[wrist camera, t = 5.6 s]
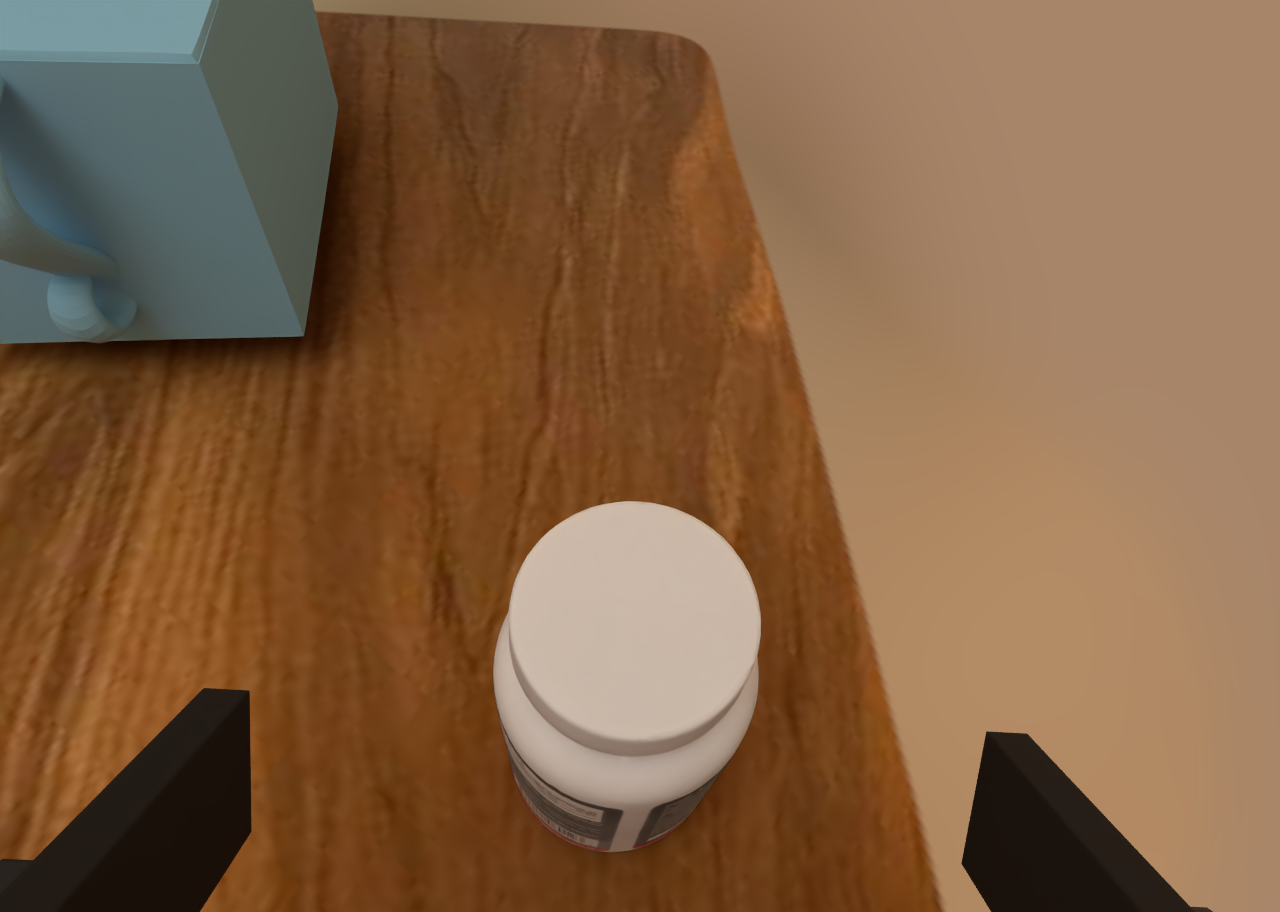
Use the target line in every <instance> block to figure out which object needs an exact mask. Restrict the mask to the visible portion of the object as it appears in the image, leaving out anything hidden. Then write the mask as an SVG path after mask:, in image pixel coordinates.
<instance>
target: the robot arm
mask: <svg viewBox="0 0 1280 912" xmlns="http://www.w3.org/2000/svg"><path fill="white" fill-rule="evenodd" d="M250 833H251V766H250V694H249V691H246V690H228V689H210V688H204V689H203V690H202V691H201V692H200V693H199V694H198V695H197V696H196V697H195V698H194V699H193V700H192V701H191V702H190V703H189V704H188V705H187V706H186V707H185V708H184V709H183V710H182V711H181V712H180V713H179V714H178V715H177V716H176V717H175V718H174V719H173V720H172V721H171V722H170V723H169V724H168V725H167V726H166V727H165V728H164V729H163V730H162V731H161V732H160V733H159V734H158V735H157V736H156V737H155V738H154V739H153V740H152V741H151V742H150V743H149V744H148V745H147V746H146V747H145V748H144V749H143V750H142V751H141V752H140V753H139V754H138V755H137V756H136V757H135V758H134V759H133V760H132V761H131V762H130V763H129V764H128V765H127V766H126V767H125V768H124V769H123V770H122V771H121V772H120V773H119V774H118V775H117V776H116V777H115V778H114V779H113V780H112V781H111V782H110V783H109V784H108V785H107V786H106V787H105V788H104V789H103V790H102V792H101V793H100V794H99V795H98V796H97V797H96V798H95V799H94V800H93V801H92V802H91V803H90V804H89V805H88V806H87V807H86V808H85V809H84V810H83V811H82V812H81V813H80V814H79V815H78V816H77V817H76V818H75V819H74V820H73V821H72V822H71V823H70V824H69V825H68V826H67V827H66V828H65V829H64V830H63V831H62V832H61V833H60V834H59V835H58V836H57V837H56V838H55V839H54V840H53V841H52V842H51V843H50V844H49V845H48V846H47V847H46V848H45V849H44V850H43V851H42V852H41V853H40V854H39V855H38V856H37V857H36V858H35V859H34V860H14V859H2V860H0V912H200V910H201V909H202V907H203V906H204V904H205V903H206V901H207V900H208V898H209V897H210V895H211V893H212V892H213V890H214V889H215V887H216V886H217V884H218V883H219V881H220V879H221V878H222V876H223V875H224V873H225V872H226V870H227V869H228V867H229V865H230V864H231V862H232V861H233V859H234V858H235V856H236V855H237V853H238V852H239V850H240V848H241V847H242V845H243V844H244V842H245V841H246V839H247V838H248V836H249V834H250ZM962 865H963V867H964V868H965V870H966V871H967V873H968V875H969V876H970V878H971V880H972V881H973V883H974V885H975V886H976V888H977V889H978V891H979V893H980V894H981V896H982V898H983V899H984V901H985V902H986V904H987V906H988V907H989V909H990V910H991V912H1212V911H1211V910H1210V909H1208V908H1204V907H1190V906H1189V905H1188V904H1187V903H1186V902H1185V901H1184V900H1183V899H1182V898H1181V897H1180V896H1179V894H1178V893H1177V892H1176V891H1175V890H1174V889H1173V888H1172V887H1171V886H1170V885H1169V884H1168V883H1167V882H1166V881H1165V880H1164V879H1163V878H1162V877H1161V875H1160V874H1159V873H1158V872H1157V871H1156V870H1155V869H1154V868H1153V867H1152V866H1151V865H1150V864H1149V863H1148V862H1147V861H1146V859H1145V858H1144V857H1143V856H1142V855H1141V854H1140V853H1139V852H1138V851H1137V850H1136V849H1135V848H1134V847H1133V846H1132V845H1131V844H1130V842H1128V840H1127V839H1126V838H1125V837H1124V836H1123V835H1122V834H1121V833H1120V832H1119V831H1118V830H1117V829H1116V828H1115V827H1114V826H1113V824H1111V822H1110V821H1109V820H1108V819H1107V818H1106V817H1105V816H1104V815H1103V814H1102V813H1101V812H1100V811H1099V810H1098V809H1097V807H1096V806H1095V805H1094V804H1093V803H1092V802H1091V801H1090V800H1089V799H1088V798H1087V797H1086V796H1085V795H1084V794H1083V793H1082V792H1081V790H1080V789H1079V788H1078V787H1077V786H1076V785H1075V784H1074V783H1073V782H1072V781H1071V780H1070V779H1069V778H1068V777H1067V776H1066V775H1065V773H1064V772H1063V771H1062V770H1061V769H1060V768H1059V767H1058V766H1057V765H1056V764H1055V763H1054V762H1053V761H1052V760H1051V759H1050V758H1049V757H1048V755H1046V754H1045V752H1044V751H1043V750H1041V748H1040V747H1039V746H1038V745H1037V744H1036V743H1035V742H1034V741H1033V740H1032V738H1031V737H1030V736H1029V735H1028V734H1022V733H1003V732H986V737H985V742H984V747H983V753H982V758H981V763H980V769H979V774H978V779H977V785H976V790H975V795H974V800H973V806H972V811H971V816H970V821H969V827H968V833H967V837H966V843H965V848H964V854H963V859H962Z"/></svg>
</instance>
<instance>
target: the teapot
mask: <svg viewBox="0 0 1280 912" xmlns="http://www.w3.org/2000/svg"><path fill="white" fill-rule="evenodd" d="M337 113H338V103H337V99H336V95H335V90H334V86H333V82H332V78H331V74H330V70H329V66H328V62H327V58H326V54H325V50H324V46H323V42H322V38H321V34H320V30H319V26H318V22H317V18H316V14H315V9H314V5H313V2H312V0H0V344H6V343H45V342H84V341H86V342H92V343H104V342H108V341H131V340H168V339H211V338H255V337H296V336H304V333H305V327H306V321H307V314H308V308H309V301H310V295H311V288H312V282H313V275H314V268H315V262H316V255H317V249H318V242H319V236H320V229H321V222H322V216H323V209H324V202H325V196H326V189H327V182H328V175H329V168H330V162H331V155H332V148H333V141H334V134H335V127H336V121H337Z"/></svg>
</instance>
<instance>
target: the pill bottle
mask: <svg viewBox="0 0 1280 912" xmlns="http://www.w3.org/2000/svg"><path fill="white" fill-rule="evenodd" d="M760 636H761V614H760V608H759V601H758V597H757V593H756V590H755V587H754V584H753V582H752V579H751V576H750V574H749V572H748V570H747V569H746V567H745V565H744V563H743V562H742V560H741V559H740V557H739V556H738V555H737V553H736V552H735V551H734V549H733V548H732V547H731V546H730V545H729V543H728V542H727V541H726V540H725V539H724V538H723V537H722V536H720V535H719V534H718V533H717V532H716V531H714V530H713V529H712V528H711V527H709V526H707V525H706V524H705V523H703V522H702V521H700V520H698V519H696V518H695V517H693V516H691V515H689V514H686V513H684V512H682V511H680V510H677V509H674V508H671V507H667V506H663V505H659V504H655V503H648V502H633V501H623V502H615V503H609V504H603V505H599V506H595V507H591V508H588V509H586V510H583V511H581V512H579V513H576V514H574V515H573V516H571V517H569V518H567V519H565V520H564V521H562V522H561V523H559V524H558V525H556V526H555V527H554V528H553V529H551V530H550V531H549V532H548V533H547V534H546V535H544V536H543V537H542V538H541V539H540V541H539V542H538V543H537V544H536V545H535V546H534V548H533V549H532V550H531V552H530V553H529V554H528V556H527V557H526V559H525V561H524V563H523V564H522V566H521V568H520V570H519V572H518V575H517V577H516V580H515V583H514V586H513V589H512V594H511V599H510V605H509V612H508V614H507V616H506V618H505V620H504V622H503V625H502V627H501V630H500V633H499V637H498V641H497V645H496V650H495V657H494V667H493V672H494V675H493V679H494V693H495V700H496V705H497V710H498V714H499V718H500V722H501V726H502V730H503V734H504V738H505V742H506V746H507V751H508V755H509V759H510V765H511V770H512V773H513V776H514V780H515V783H516V785H517V787H518V790H519V792H520V794H521V796H522V798H523V799H524V801H525V803H526V805H527V806H528V807H529V809H530V810H531V811H532V813H533V814H534V815H535V816H536V818H537V819H538V820H539V821H540V822H541V823H542V824H543V825H544V826H545V827H546V828H547V829H549V830H550V831H551V832H553V833H554V834H555V835H557V836H558V837H560V838H561V839H563V840H565V841H567V842H569V843H571V844H574V845H576V846H579V847H582V848H586V849H590V850H595V851H602V852H621V851H629V850H634V849H637V848H641V847H644V846H647V845H649V844H652V843H654V842H656V841H658V840H660V839H661V838H663V837H665V836H666V835H668V834H669V833H671V832H672V831H673V830H675V829H676V828H677V827H678V826H680V825H681V824H682V823H683V822H684V821H685V820H686V819H687V818H688V816H689V815H690V814H691V813H692V812H693V810H694V809H695V808H696V807H697V805H698V803H699V802H700V801H701V800H702V798H703V797H704V795H705V794H706V792H707V791H708V790H709V788H710V787H711V785H712V784H713V783H714V781H715V780H716V778H717V777H718V776H719V774H720V773H721V772H722V770H723V769H724V768H725V766H726V765H727V763H728V762H729V761H730V759H731V758H732V756H733V755H734V753H735V752H736V750H737V749H738V747H739V745H740V743H741V741H742V739H743V737H744V735H745V733H746V731H747V729H748V726H749V724H750V721H751V719H752V716H753V712H754V709H755V705H756V700H757V694H758V681H759V672H758V658H757V654H758V650H759V644H760Z"/></svg>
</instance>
